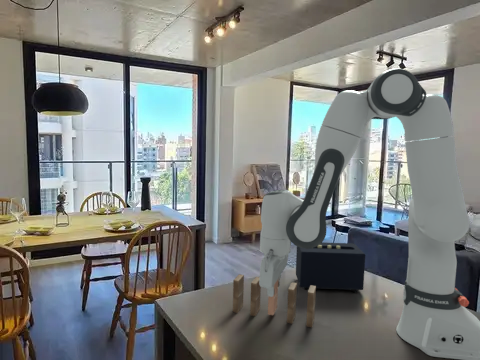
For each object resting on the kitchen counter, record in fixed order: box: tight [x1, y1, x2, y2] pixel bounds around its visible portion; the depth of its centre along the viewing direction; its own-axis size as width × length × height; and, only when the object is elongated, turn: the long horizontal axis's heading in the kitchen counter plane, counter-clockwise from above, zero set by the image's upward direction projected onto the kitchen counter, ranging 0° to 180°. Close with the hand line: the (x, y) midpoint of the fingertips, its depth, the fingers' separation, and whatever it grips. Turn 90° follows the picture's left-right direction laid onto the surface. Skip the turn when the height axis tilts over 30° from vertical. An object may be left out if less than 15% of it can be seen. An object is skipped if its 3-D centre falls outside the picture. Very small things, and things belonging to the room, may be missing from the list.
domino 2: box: [249, 276, 262, 317], centre depth 103 cm, size 2×5×10 cm, turn 161°
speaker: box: [295, 241, 366, 293], centre depth 124 cm, size 22×13×15 cm, turn 88°
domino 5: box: [305, 285, 317, 328], centre depth 98 cm, size 2×5×10 cm, turn 161°
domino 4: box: [286, 282, 298, 324], centre depth 100 cm, size 2×5×10 cm, turn 161°
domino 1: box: [232, 274, 245, 314], centre depth 105 cm, size 2×5×10 cm, turn 161°
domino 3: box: [267, 280, 279, 316], centre depth 102 cm, size 2×5×10 cm, turn 160°
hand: (273, 291), depth 101 cm, fingers closed on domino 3, 5 cm apart
